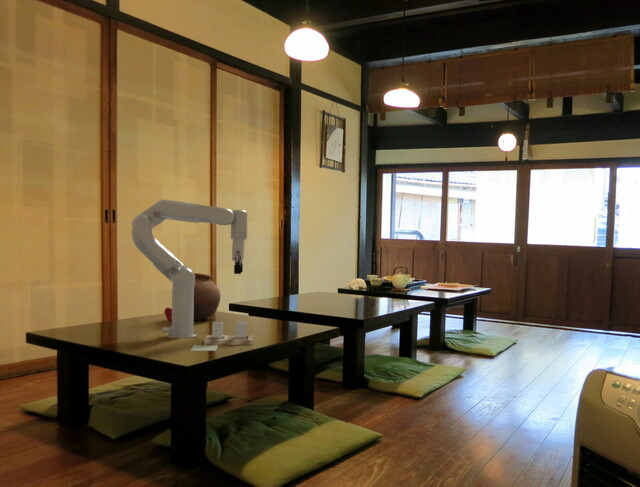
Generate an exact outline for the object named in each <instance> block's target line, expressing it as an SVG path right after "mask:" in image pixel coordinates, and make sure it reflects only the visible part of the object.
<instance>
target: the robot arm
mask: <svg viewBox="0 0 640 487" xmlns="http://www.w3.org/2000/svg"><path fill="white" fill-rule="evenodd" d="M165 220H170V221H179V222H186V223H206V224H214V225H215V224H216V225H218V226H227V225H228V226H230V240H232V245H231V248H232V251H231V260H232V261H234V265H233V273H234V274H235V275H241V274H242V273H243V272H244V271H243V267H244V266H243V264H244V263H243V260H244V257H245V241H247V240H248V212H247V210H245V209H233V210H231V209H229V208H225V207H220V206H219V207H218V206H210V205H204V204H201V203H200V204H199V203H193V202H185V201H178V200H171V199H161V200H159V201H157V202H155V203H154V204H153V205H152V206H150V207H149V208H147V209H145V210H144V211H141V213H139V214H138V215H136V216H135V217H134V218H133V219H132V220H131V221H132V222H131V226H132V229H131V238H132V242H133V243H134V246H135V247H136V248H137V250H139V251H140V253H141V254H142V255H144V256H145V257H146V258H147V259H148V260H149V261H150V262H151V263H152V265H153V266H154V268H155V269H156V270H157V271H159V272H160V273H161V274H163V276H165V277H166V279H168V280H169V281H170V282H171V284H172V288H171V289H172V290H171V309H172V323H171V326H169V327H161V332H162V333H168V334H167V337H168V338H170V339H193V338H197V335H198V334H197V332H194V321H195V320H194V286H195V275H194V273H195V272H194V271H193V269H191V267H189V266H186V265H184V264H183V262H181V261H180V260H179V259H178V258H177V257H176V256H175V254H174V253H173V252H172V251H171V250H168V248H166V247H165V246H164V245H163V244H162V243H161V242H160V241H159V240H158V239H157V238H156V237H155V236H154V234H153V229H154V228H155V227H157V226H158V225H160V224H161V223H162V222H164V221H165Z"/></svg>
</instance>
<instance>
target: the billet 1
mask: <svg viewBox="0 0 640 487" xmlns="http://www.w3.org/2000/svg"><path fill="white" fill-rule="evenodd" d="M211 327H212V328H211V329H212V333H211V334H212V339H223V335H224V321H212V326H211Z"/></svg>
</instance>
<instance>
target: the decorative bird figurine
mask: <svg viewBox="0 0 640 487" xmlns="http://www.w3.org/2000/svg"><path fill="white" fill-rule="evenodd" d="M163 313H164V315H165V317H166V320H167V321H168V322H169V323H171V324H172V307H171V308H170V307H165V309H164V311H163Z"/></svg>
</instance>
